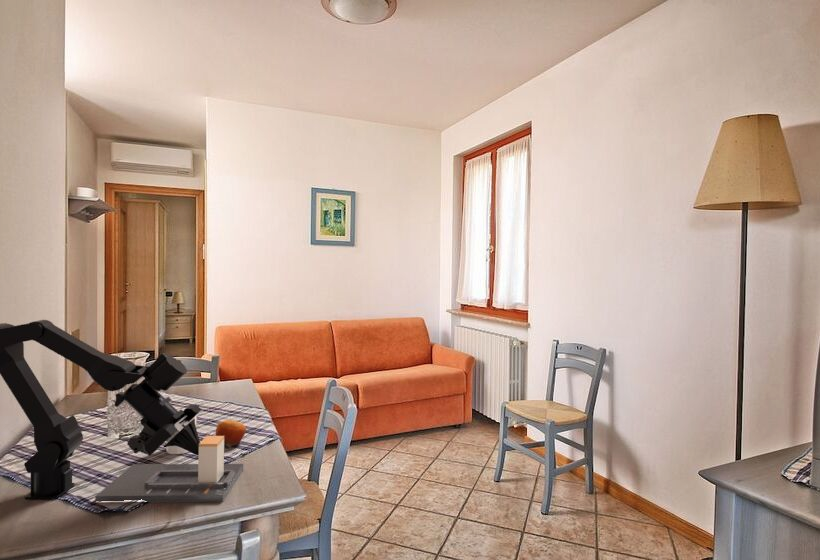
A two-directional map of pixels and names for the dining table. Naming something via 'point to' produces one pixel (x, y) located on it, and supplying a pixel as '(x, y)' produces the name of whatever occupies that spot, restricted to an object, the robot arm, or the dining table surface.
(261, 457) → the dining table surface
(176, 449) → the white cup
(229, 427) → the fruit
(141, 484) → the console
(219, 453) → the fader cap
